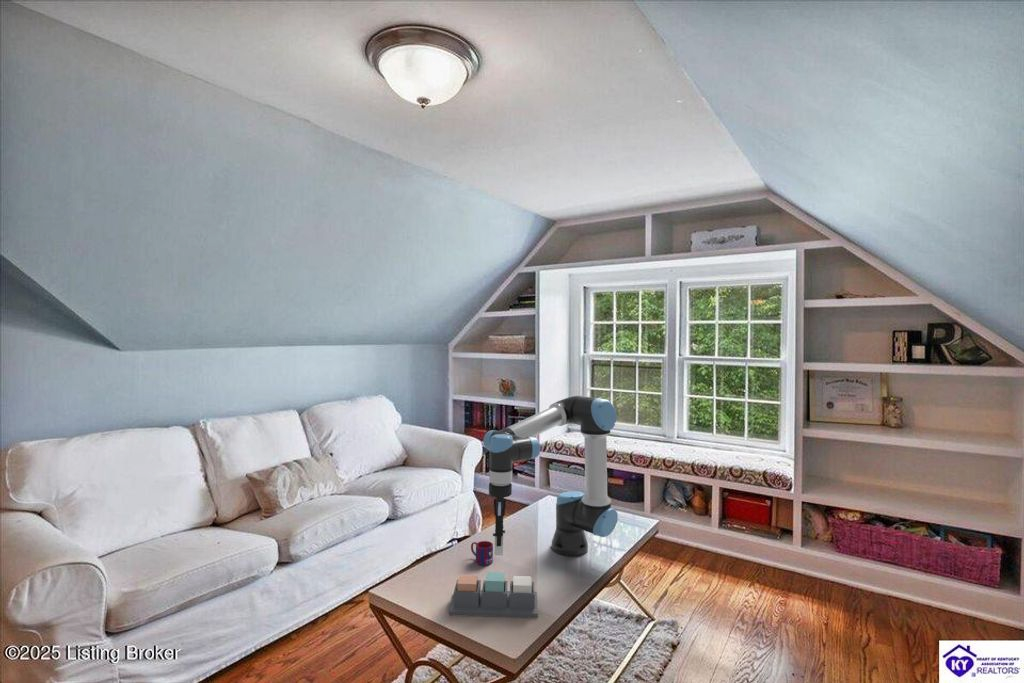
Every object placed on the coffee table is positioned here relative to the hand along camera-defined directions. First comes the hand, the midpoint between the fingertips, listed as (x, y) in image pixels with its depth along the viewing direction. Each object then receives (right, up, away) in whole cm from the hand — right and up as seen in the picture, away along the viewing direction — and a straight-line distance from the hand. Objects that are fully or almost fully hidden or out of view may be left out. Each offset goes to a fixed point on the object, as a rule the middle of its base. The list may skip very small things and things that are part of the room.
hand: (498, 554), depth 157 cm
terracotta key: (-10, -14, +1) cm, 17 cm away
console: (-1, -17, +1) cm, 17 cm away
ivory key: (+8, -14, 0) cm, 16 cm away
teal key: (-1, -13, +1) cm, 13 cm away
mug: (-8, -17, +32) cm, 37 cm away
